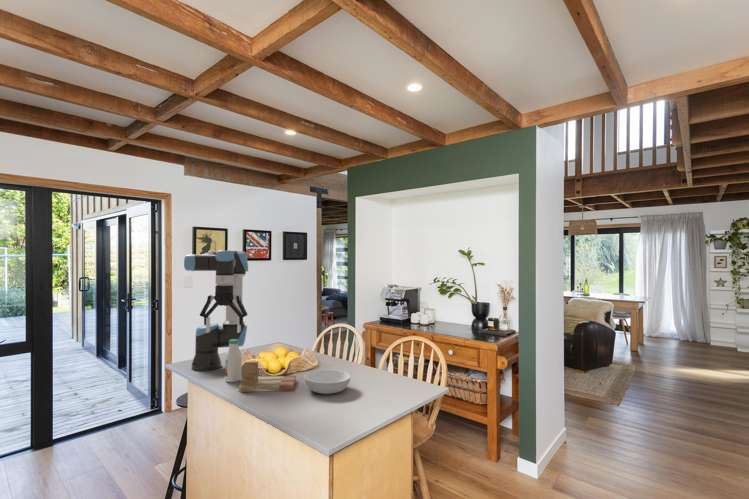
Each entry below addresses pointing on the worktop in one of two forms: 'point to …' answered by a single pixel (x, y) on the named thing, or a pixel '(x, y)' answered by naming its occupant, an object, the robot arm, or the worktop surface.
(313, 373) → the serving bowl
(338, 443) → the worktop surface
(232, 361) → the milk bottle
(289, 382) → the maple board
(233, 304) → the robot arm
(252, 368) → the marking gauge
